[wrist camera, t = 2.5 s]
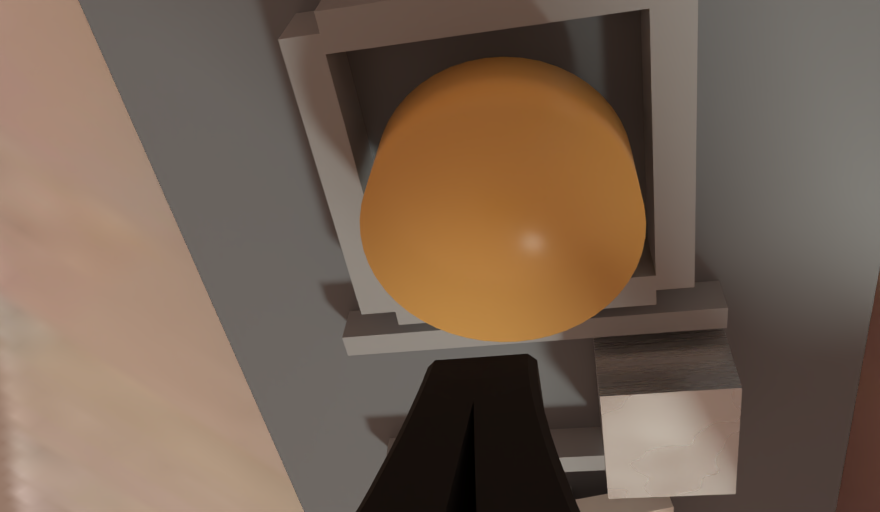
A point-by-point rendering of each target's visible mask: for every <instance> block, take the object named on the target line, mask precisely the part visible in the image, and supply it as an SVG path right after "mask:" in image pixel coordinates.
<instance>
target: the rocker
mask: <svg viewBox="0 0 880 512" xmlns="http://www.w3.org/2000/svg"><path fill="white" fill-rule="evenodd" d="M576 503H577V505H578V507H579V510H580V512H674V507H673V504H672V502H671V499H670V497H645V498H619V499H608V494H603V495H597V496H592V497H587V498H581V499H576Z"/></svg>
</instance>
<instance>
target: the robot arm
mask: <svg viewBox="0 0 880 512" xmlns="http://www.w3.org/2000/svg"><path fill="white" fill-rule="evenodd" d="M356 512H580V510H579V507H578V505H577V503H576V500H575V498H574V495H573V493H572V490H571V487H570V485H569V482H568V480H567V477H566V474H565V472H564V469H563V467H562V464H561V461H560V459H559V456H558V453H557V450H556V447H555V444H554V441H553V438H552V435H551V432H550V428H549V425H548V421H547V418H546V415H545V411H544V404H543V397H542V390H541V383H540V376H539V369H538V362H537V359H535V358H534V357H532V356H531V355H529V354H514V355H500V356H487V357H473V358H459V359H445V360H435V361H434V362H433V363H432V364H431V365H430V366H429V367H428V368H427V371H426V373H425V376H424V378H423V381H422V383H421V386H420V388H419V390H418V392H417V395H416V397H415V399H414V401H413V404H412V406H411V408H410V410H409V412H408V414H407V417H406V419H405V421H404V423H403V425H402V427H401V429H400V431H399V433H398V435H397V437H396V439H395V441H394V443H393V445H392V447H391V449H390V451H389V453H388V455H387V456H386V458H385V460H384V462H383V464H382V466H381V468H380V469H379V471H378V473H377V475H376V477H375V479H374V481H373V482H372V484H371V486H370V488H369V490H368V492H367V493H366V495H365V497H364V499H363V500H362V502H361V504H360V506H359V507H358V509H357V511H356Z"/></svg>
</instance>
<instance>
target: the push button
mask: <svg viewBox="0 0 880 512" xmlns="http://www.w3.org/2000/svg"><path fill="white" fill-rule="evenodd" d="M645 234H646V217H645V208H644V203H643V198H642V194H641V190H640V185H639V181H638V177H637V172H636V168H635V164H634V159H633V155H632V151H631V147H630V143H629V140H628V136H627V133H626V131H625V129H624V127H623V124H622V122H621V120H620V119H619V117H618V116H617V114H616V112H615V111H614V109H613V108H612V106H611V105H610V104H609V103H608V102H607V101H606V100H605V98H604V97H603V96H602V95H601V94H600V93H599V92H598V91H596V90H595V89H594V88H593V87H592V86H590V85H589V84H588V83H587V82H585V81H584V80H582V79H580V78H579V77H577V76H576V75H574V74H572V73H570V72H568V71H566V70H564V69H562V68H559V67H557V66H554V65H551V64H548V63H545V62H542V61H538V60H532V59H527V58H520V57H491V58H482V59H477V60H472V61H467V62H464V63H461V64H458V65H455V66H452V67H449V68H447V69H445V70H443V71H441V72H439V73H437V74H435V75H433V76H432V77H430V78H429V79H427V80H426V81H424V82H423V83H421V84H420V85H418V86H417V87H416V88H415V89H414V90H413V91H412V92H411V93H409V94H408V95H407V96H406V97H405V99H404V100H403V101H402V102H401V103H400V104H399V106H398V107H397V108H396V110H395V111H394V113H393V114H392V116H391V117H390V119H389V121H388V123H387V125H386V127H385V130H384V132H383V134H382V137H381V140H380V143H379V147H378V150H377V153H376V156H375V160H374V163H373V166H372V169H371V173H370V176H369V179H368V182H367V186H366V189H365V192H364V196H363V200H362V203H361V211H360V236H361V241H362V245H363V250H364V253H365V255H366V258H367V261H368V264H369V266H370V267H371V269H372V271H373V273H374V275H375V277H376V278H377V280H378V281H379V282H380V284H381V285H382V287H383V288H384V289H385V291H386V292H387V293H388V294H389V295H390V296H391V297H392V298H393V299H394V300H395V301H396V302H397V303H398V304H399V305H401V306H402V307H403V308H404V309H405V310H407V311H408V312H409V313H411V314H412V315H414V316H416V317H417V318H419V319H420V320H422V321H424V322H426V323H428V324H430V325H431V326H433V327H435V328H438V329H440V330H443V331H446V332H448V333H451V334H454V335H458V336H462V337H465V338H470V339H476V340H482V341H493V342H518V341H526V340H534V339H539V338H543V337H548V336H551V335H554V334H557V333H560V332H563V331H566V330H568V329H571V328H573V327H575V326H577V325H579V324H581V323H583V322H585V321H586V320H588V319H590V318H591V317H593V316H595V315H596V314H597V313H599V312H600V311H601V310H602V309H604V308H605V307H606V306H608V305H609V304H610V303H611V302H612V301H613V300H614V299H615V298H616V297H617V296H618V295H619V294H620V292H621V291H622V290H623V288H624V287H625V286H626V284H627V283H628V282H629V280H630V278H631V277H632V275H633V273H634V271H635V270H636V268H637V265H638V263H639V260H640V257H641V255H642V251H643V247H644V242H645Z"/></svg>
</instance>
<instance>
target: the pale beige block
mask: <svg viewBox="0 0 880 512" xmlns="http://www.w3.org/2000/svg"><path fill="white" fill-rule="evenodd" d="M593 341H594V352H595V364H596V376H597V388H598V399H599V411H600V423H601V433H602V442H603V452H604V461H605V471H606V480H607V490H608V499H619V498H645V497H671V496H697V495H722V494H736V479H737V463H738V447H739V431H740V415H741V399H742V386H741V383H740V379H739V376H738V373H737V370H736V366H735V363H734V360H733V357H732V353H731V350H730V347H729V344H728V341H727V337H726V334H725V331H724V328H719V329H706V330H692V331H679V332H665V333H651V334H638V335H624V336H610V337H597V338H593Z"/></svg>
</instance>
